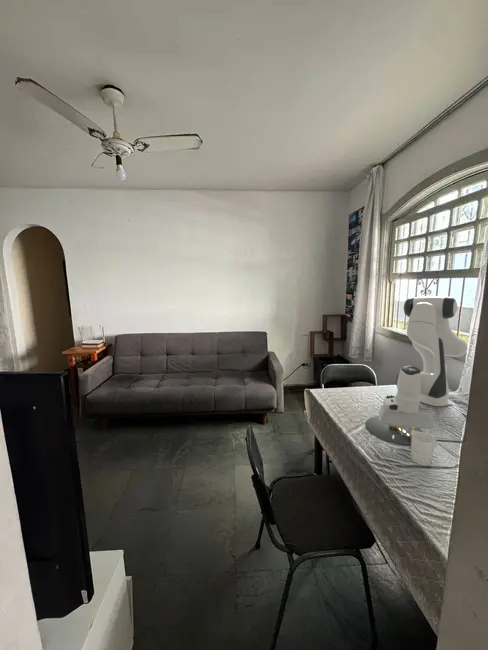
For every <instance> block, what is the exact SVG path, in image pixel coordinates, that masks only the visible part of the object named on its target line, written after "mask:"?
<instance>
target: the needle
mask: <svg viewBox="0 0 488 650" xmlns="http://www.w3.org/2000/svg"><path fill="white" fill-rule="evenodd" d="M389 428H390V429H393V430H398V431H399V432H401V429H400V428H399V426H398V425H390V424H389ZM413 432H416V428H413V427H411V430H410V431H409V434H408V433H407V436H406V437H407V438H409V439H408V440H409V441H410V442H411V437H412V433H413Z"/></svg>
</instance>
